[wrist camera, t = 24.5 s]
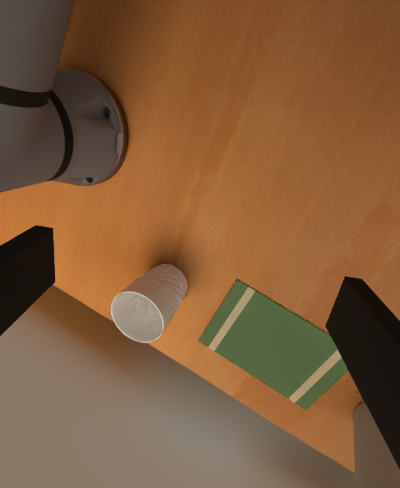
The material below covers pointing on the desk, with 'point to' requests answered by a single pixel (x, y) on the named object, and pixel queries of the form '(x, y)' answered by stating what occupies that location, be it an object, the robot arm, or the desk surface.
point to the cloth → (274, 345)
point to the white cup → (149, 303)
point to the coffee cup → (372, 454)
